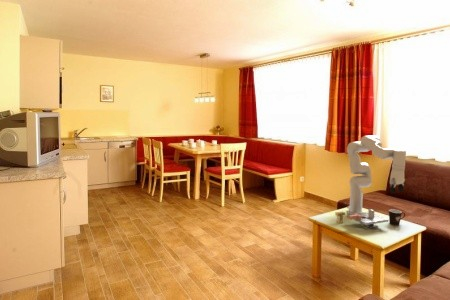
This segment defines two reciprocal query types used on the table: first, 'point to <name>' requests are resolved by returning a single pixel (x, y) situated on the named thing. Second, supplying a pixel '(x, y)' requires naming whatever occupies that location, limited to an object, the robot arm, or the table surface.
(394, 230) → the table surface
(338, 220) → the yellow block
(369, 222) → the square metal plate
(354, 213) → the bracket
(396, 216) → the coffee mug
